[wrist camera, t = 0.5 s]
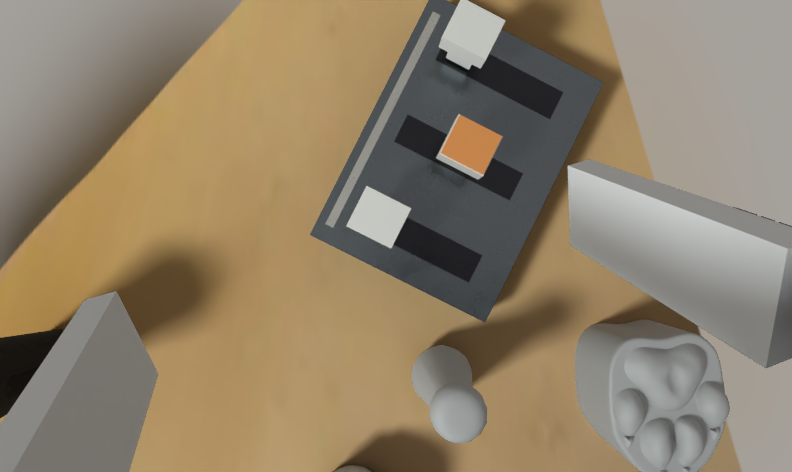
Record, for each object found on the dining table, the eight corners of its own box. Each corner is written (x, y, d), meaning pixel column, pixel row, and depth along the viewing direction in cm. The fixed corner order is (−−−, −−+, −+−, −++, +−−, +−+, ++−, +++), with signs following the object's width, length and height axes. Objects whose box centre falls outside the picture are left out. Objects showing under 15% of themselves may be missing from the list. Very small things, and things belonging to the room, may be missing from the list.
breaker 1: (407, 212, 43) (411, 208, 37) (389, 247, 43) (391, 248, 37) (367, 192, 43) (366, 185, 37) (349, 227, 42) (346, 226, 37)
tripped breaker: (487, 149, 43) (503, 135, 37) (470, 184, 43) (483, 175, 37) (449, 129, 43) (459, 112, 37) (431, 164, 43) (439, 153, 37)
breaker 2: (490, 46, 43) (505, 20, 38) (472, 81, 43) (485, 59, 38) (451, 26, 43) (461, -3, 38) (433, 61, 43) (441, 36, 38)
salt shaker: (427, 329, 47) (445, 364, 34) (477, 356, 47) (514, 400, 34) (399, 381, 47) (407, 435, 34) (449, 408, 47) (477, 471, 34)
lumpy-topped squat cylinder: (670, 316, 48) (734, 333, 40) (680, 443, 48) (746, 488, 39) (570, 325, 48) (613, 344, 39) (580, 453, 48) (625, 500, 39)
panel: (584, 95, 48) (603, 82, 44) (476, 315, 47) (485, 322, 43) (427, 13, 47) (432, -8, 43) (315, 235, 47) (309, 234, 43)
